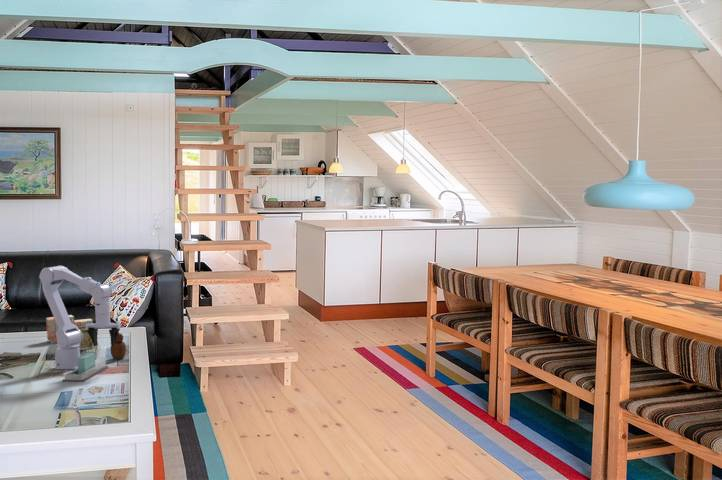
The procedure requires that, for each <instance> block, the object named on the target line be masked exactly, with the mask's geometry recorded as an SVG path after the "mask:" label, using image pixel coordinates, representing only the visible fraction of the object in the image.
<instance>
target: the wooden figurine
mask: <svg viewBox="0 0 722 480" xmlns="http://www.w3.org/2000/svg"><path fill="white" fill-rule="evenodd" d="M126 353H127V345H126V343H125V342H124V335H123V333H121V332H118V334H117V337H116V341H115V345H114V346H111V345H110V354H111V357H112V359H114V360H121V359H124V358H125V355H126Z"/></svg>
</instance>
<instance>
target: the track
mask: <svg viewBox="0 0 722 480" xmlns="http://www.w3.org/2000/svg"><path fill="white" fill-rule="evenodd" d="M106 369H109V366H108V365H107V361H102V362H100V363H98V364H95V366H94V367H92V368H90V369H89V370H87V371H85V372H83V373H81V374H78V368H77V369H72V371H70V372H68V373H66V374H64V378H63V379H62V382H68V383H69V382H70V383H71V382H74V383H76V382H81V383H84V382H86V381H88V380H90V379H91V378H93V377H94V376H96V375H98V374H100V373H102V372H103V371H105V370H106Z"/></svg>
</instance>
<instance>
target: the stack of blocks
mask: <svg viewBox="0 0 722 480" xmlns="http://www.w3.org/2000/svg"><path fill="white" fill-rule="evenodd" d="M68 316H69V318H70V321H71V323H73V324H75V325H76V326H77V327H80V326H86V324H91V323H94V320H93V319H92V318H84V319H75V316H74V315H72V314H68ZM45 319H46V320H45V321H46V324H45V326H46V335H47V336H46V338H47V339H48V340H49V342H57V336H56V334H55V333H56V331H57V330H58V326H57V323H56V321H55V318H54V316H50V317H46V318H45ZM65 333H66V332H65ZM47 339H46V340H47ZM48 340H47V341H48ZM49 342H48V343H49Z"/></svg>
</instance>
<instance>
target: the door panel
mask: <svg viewBox="0 0 722 480" xmlns="http://www.w3.org/2000/svg"><path fill="white" fill-rule="evenodd" d="M77 361H78V374H81V373H83V372H85V371H87V370H89V369H90V368H92V367H94V366H96V353H94V352H88V353H85V354H83V355H80V357H79V358H77Z"/></svg>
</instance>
